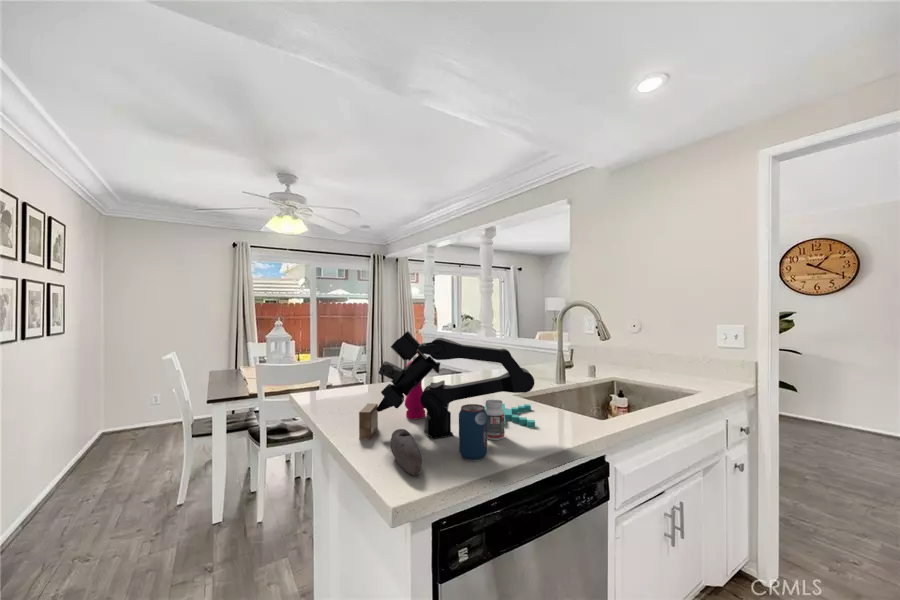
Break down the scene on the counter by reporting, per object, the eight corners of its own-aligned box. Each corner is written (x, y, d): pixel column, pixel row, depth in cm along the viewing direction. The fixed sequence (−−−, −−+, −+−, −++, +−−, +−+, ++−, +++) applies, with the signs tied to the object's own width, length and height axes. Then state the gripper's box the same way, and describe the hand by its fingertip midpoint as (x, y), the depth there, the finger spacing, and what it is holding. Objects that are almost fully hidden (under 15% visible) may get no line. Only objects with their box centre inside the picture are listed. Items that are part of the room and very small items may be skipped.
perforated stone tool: (429, 479, 81) (429, 447, 81) (405, 484, 79) (405, 450, 79) (409, 454, 95) (409, 426, 95) (388, 457, 93) (388, 428, 93)
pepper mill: (404, 413, 129) (404, 354, 129) (426, 412, 130) (425, 354, 130) (404, 420, 122) (404, 357, 122) (427, 419, 123) (426, 357, 123)
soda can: (491, 460, 91) (491, 409, 91) (464, 463, 89) (463, 412, 89) (481, 449, 97) (480, 402, 97) (455, 452, 95) (455, 404, 95)
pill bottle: (506, 440, 104) (506, 403, 104) (485, 441, 103) (485, 404, 103) (502, 433, 109) (501, 398, 109) (482, 433, 109) (482, 399, 109)
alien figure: (530, 410, 133) (473, 408, 136) (530, 404, 133) (473, 402, 136) (535, 429, 114) (468, 427, 116) (535, 422, 114) (468, 419, 116)
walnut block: (378, 428, 114) (378, 403, 114) (370, 439, 105) (370, 412, 105) (367, 428, 114) (367, 403, 114) (359, 439, 105) (359, 412, 105)
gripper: (401, 348, 119) (366, 383, 119) (388, 357, 100) (347, 398, 101) (426, 373, 118) (391, 408, 119) (418, 387, 100) (377, 428, 100)
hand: (377, 410), depth 110 cm, fingers closed
